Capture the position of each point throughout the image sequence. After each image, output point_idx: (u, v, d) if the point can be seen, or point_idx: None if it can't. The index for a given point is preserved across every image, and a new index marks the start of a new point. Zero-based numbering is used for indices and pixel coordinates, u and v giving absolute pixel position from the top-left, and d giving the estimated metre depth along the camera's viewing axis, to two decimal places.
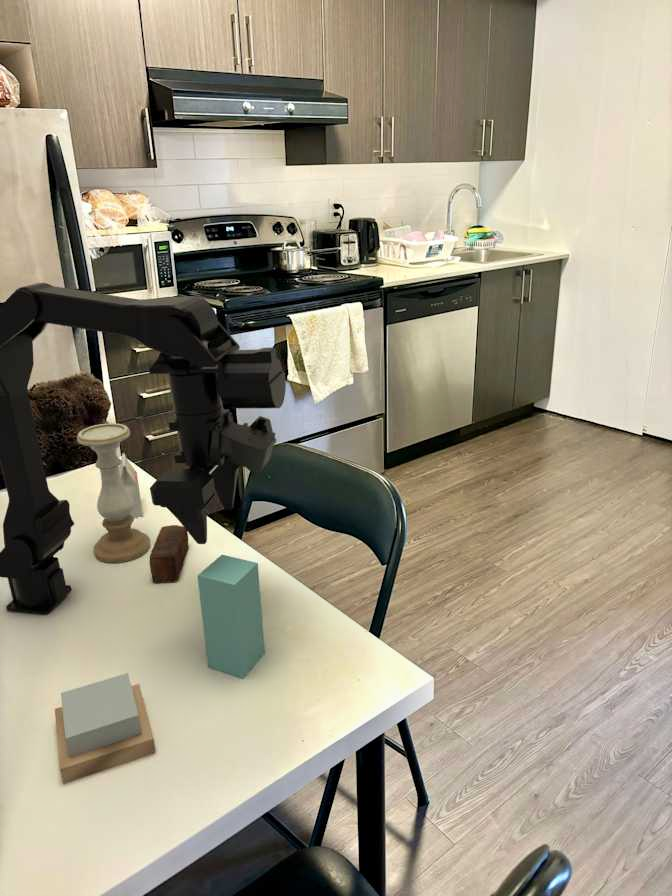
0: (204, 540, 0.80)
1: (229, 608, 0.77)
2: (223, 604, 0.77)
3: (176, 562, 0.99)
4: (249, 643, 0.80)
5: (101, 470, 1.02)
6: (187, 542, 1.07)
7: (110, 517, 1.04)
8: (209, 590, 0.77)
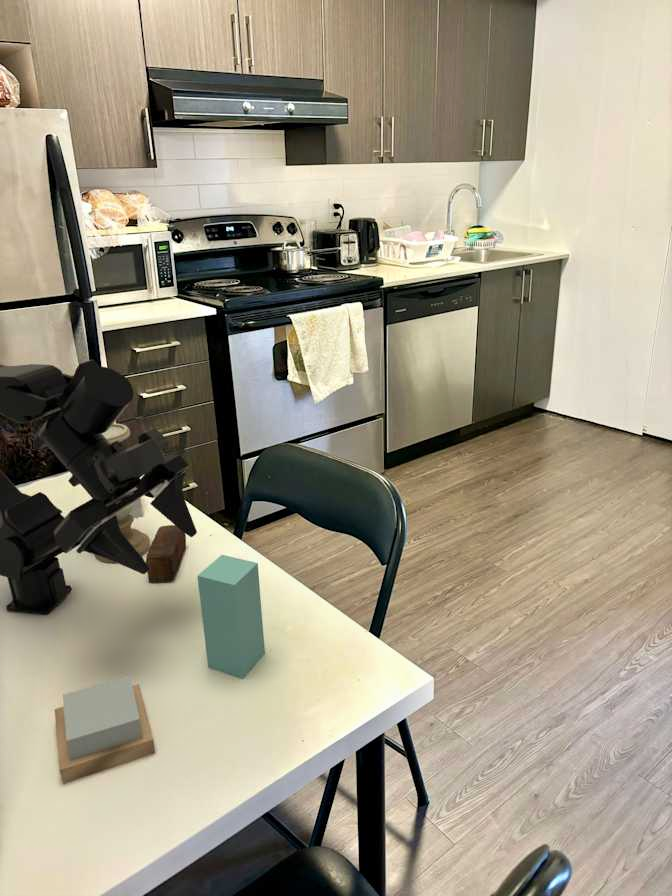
0: (143, 567, 0.77)
1: (229, 608, 0.77)
2: (223, 604, 0.77)
3: (172, 562, 0.99)
4: (249, 643, 0.80)
5: None
6: (185, 542, 1.07)
7: (110, 517, 1.04)
8: (209, 590, 0.77)
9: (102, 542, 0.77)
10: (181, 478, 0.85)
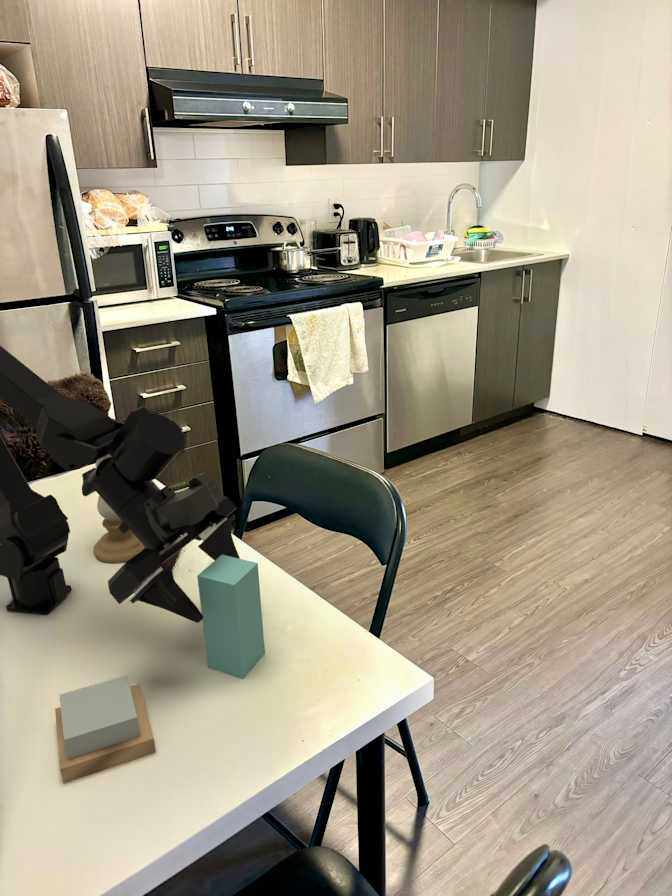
0: (197, 615, 0.76)
1: (229, 608, 0.77)
2: (222, 604, 0.77)
3: (166, 563, 0.99)
4: (249, 643, 0.80)
5: None
6: None
7: (111, 517, 1.04)
8: (209, 590, 0.77)
9: (155, 591, 0.76)
10: (230, 521, 0.84)
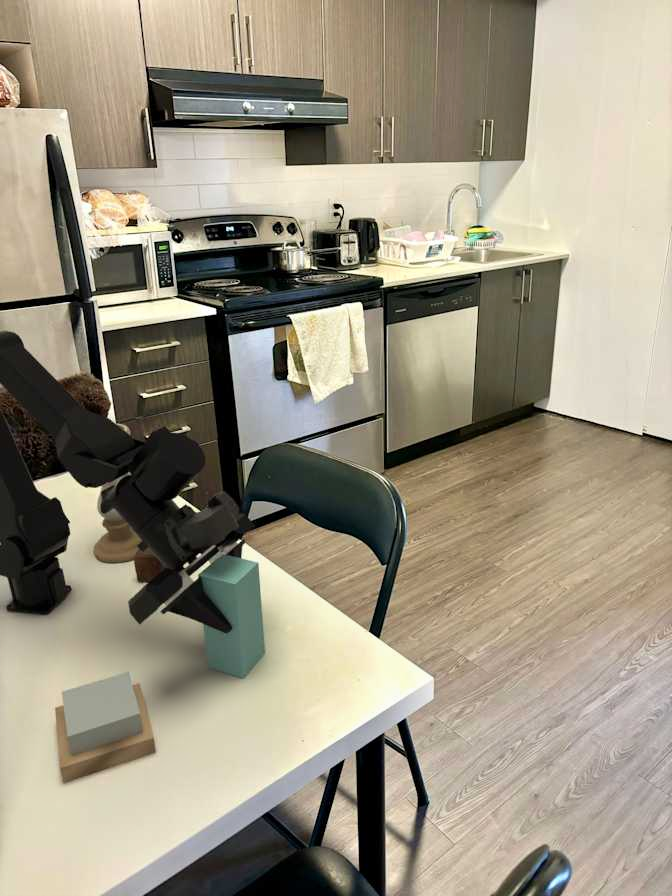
0: (227, 626, 0.77)
1: (229, 607, 0.77)
2: (223, 603, 0.77)
3: (161, 563, 0.99)
4: (249, 643, 0.80)
5: None
6: None
7: (111, 517, 1.04)
8: (209, 589, 0.77)
9: (185, 602, 0.77)
10: (240, 546, 0.82)
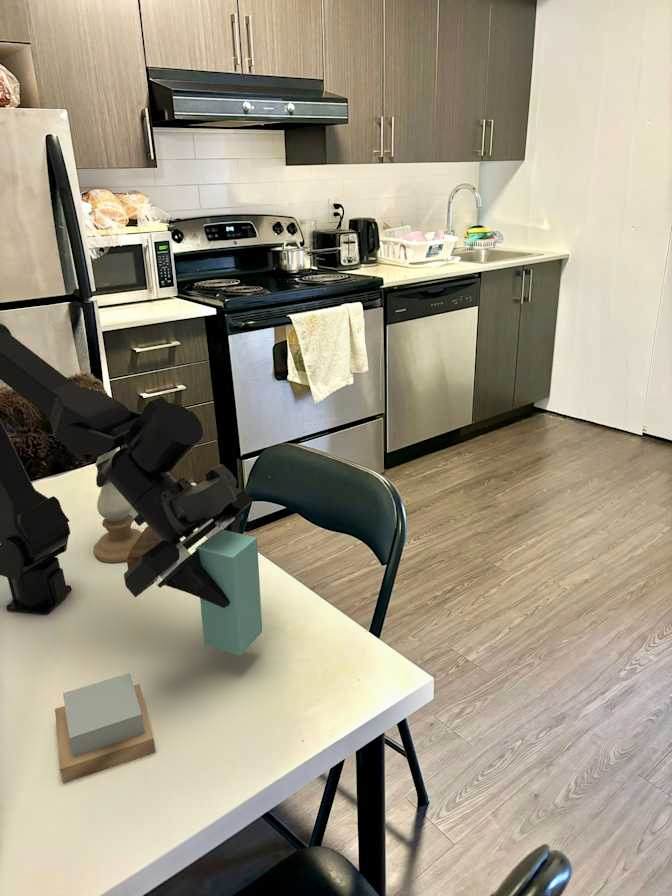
0: (224, 601, 0.76)
1: (226, 582, 0.75)
2: (220, 578, 0.76)
3: None
4: (246, 620, 0.79)
5: None
6: None
7: (111, 517, 1.04)
8: (207, 563, 0.76)
9: (182, 576, 0.76)
10: (238, 521, 0.81)
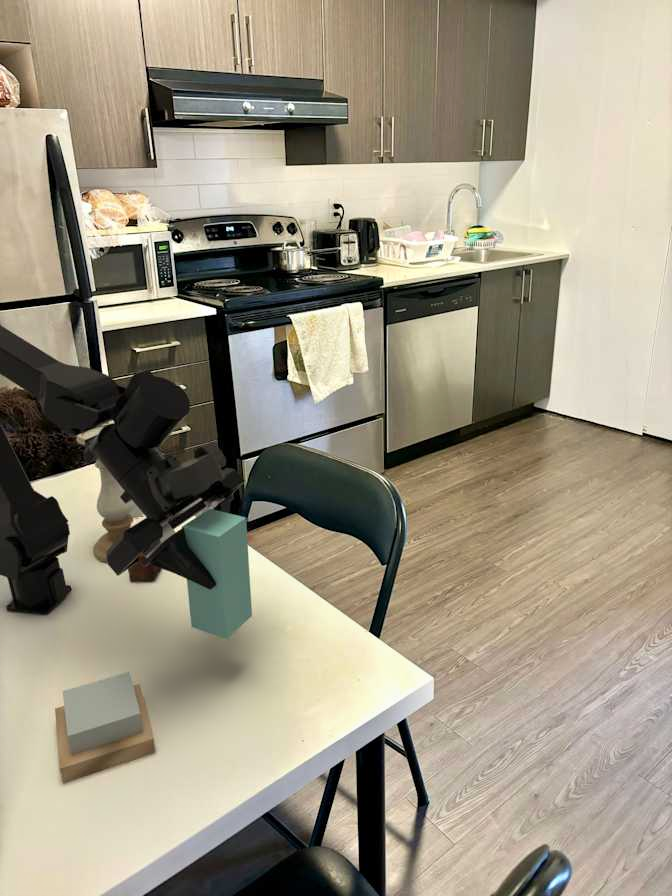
0: (210, 582, 0.73)
1: (213, 562, 0.73)
2: (206, 558, 0.73)
3: None
4: (234, 603, 0.76)
5: (101, 470, 1.02)
6: None
7: (110, 517, 1.04)
8: (193, 543, 0.73)
9: (168, 555, 0.73)
10: (228, 501, 0.79)
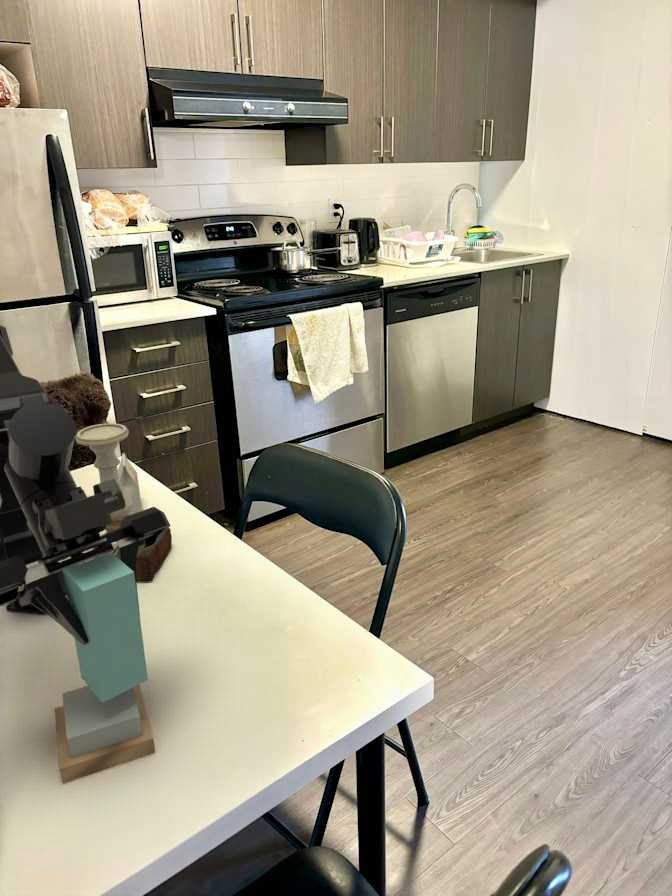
0: (81, 637, 0.65)
1: (84, 616, 0.64)
2: (80, 610, 0.65)
3: (150, 563, 0.99)
4: (115, 664, 0.67)
5: (99, 470, 1.02)
6: (170, 542, 1.08)
7: None
8: (70, 590, 0.65)
9: None
10: (134, 547, 0.69)
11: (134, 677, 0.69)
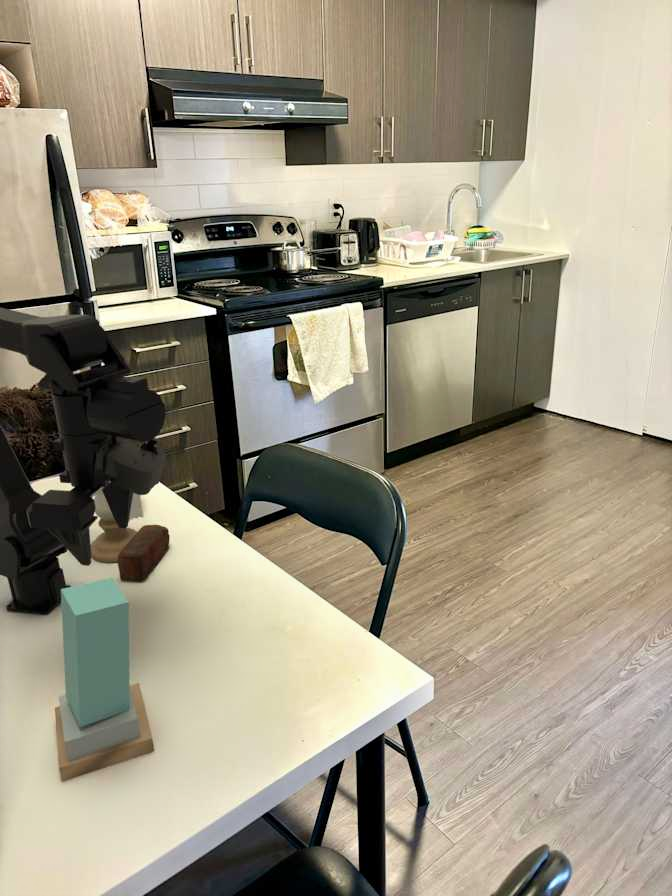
0: (88, 562, 0.79)
1: (73, 639, 0.64)
2: (70, 633, 0.65)
3: (143, 563, 0.99)
4: (98, 690, 0.67)
5: None
6: (167, 543, 1.07)
7: (106, 516, 1.04)
8: (65, 611, 0.66)
9: None
10: None
11: (116, 705, 0.69)
